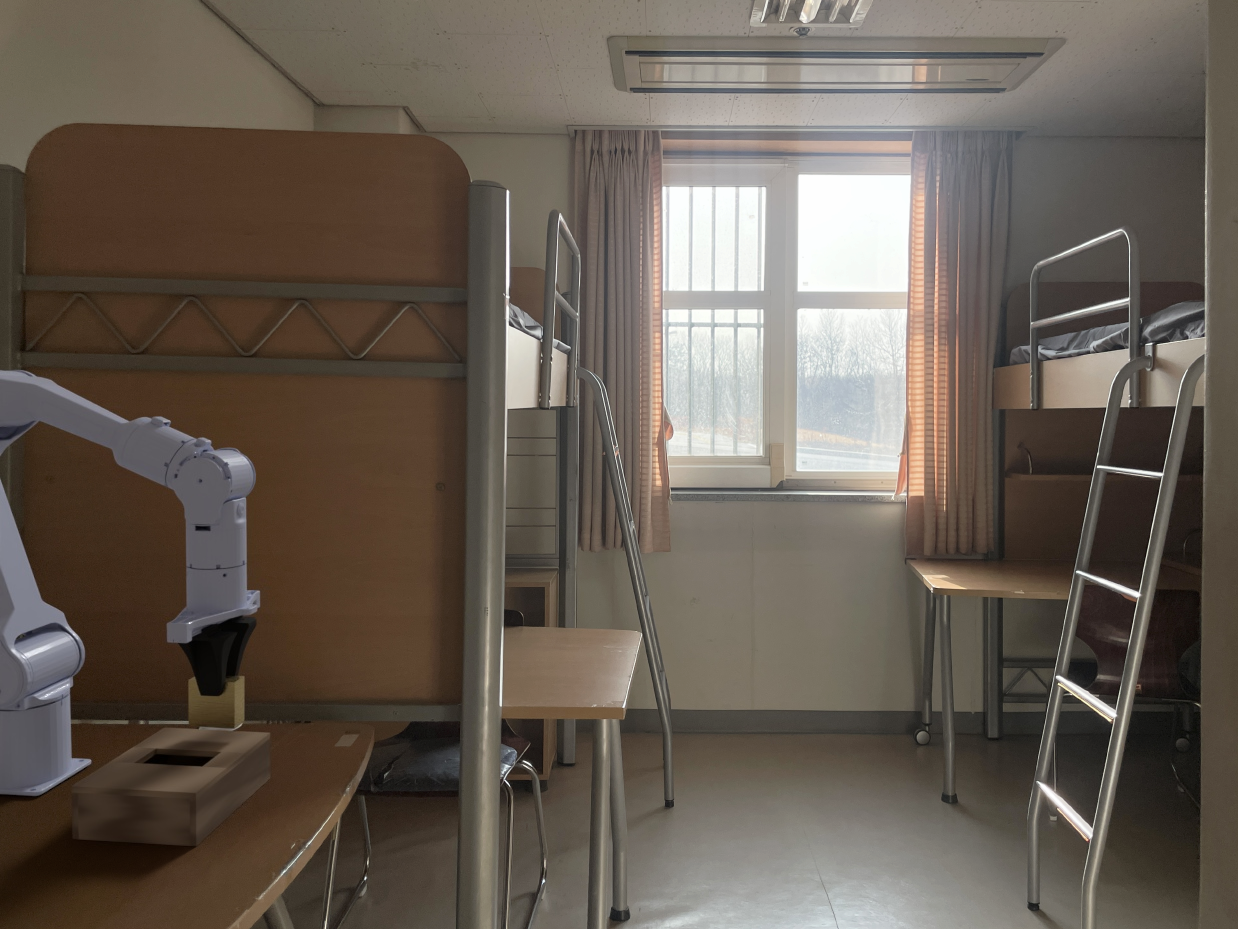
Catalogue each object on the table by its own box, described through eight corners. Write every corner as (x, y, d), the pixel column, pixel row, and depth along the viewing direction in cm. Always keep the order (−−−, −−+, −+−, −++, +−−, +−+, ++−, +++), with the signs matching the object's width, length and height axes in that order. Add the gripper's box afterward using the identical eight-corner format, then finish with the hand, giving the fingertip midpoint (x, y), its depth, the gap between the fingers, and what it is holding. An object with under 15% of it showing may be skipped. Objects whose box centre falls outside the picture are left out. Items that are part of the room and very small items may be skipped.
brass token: (188, 726, 86) (188, 680, 86) (199, 719, 88) (199, 673, 88) (234, 728, 86) (234, 682, 86) (244, 721, 88) (244, 676, 88)
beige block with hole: (72, 839, 76) (71, 786, 76) (165, 772, 90) (164, 727, 90) (196, 846, 76) (195, 793, 75) (270, 778, 90) (270, 732, 89)
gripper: (216, 580, 78) (217, 718, 79) (285, 553, 93) (286, 670, 94) (145, 577, 79) (147, 714, 80) (225, 551, 93) (226, 667, 94)
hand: (218, 690), depth 87 cm, fingers closed on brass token, 2 cm apart
